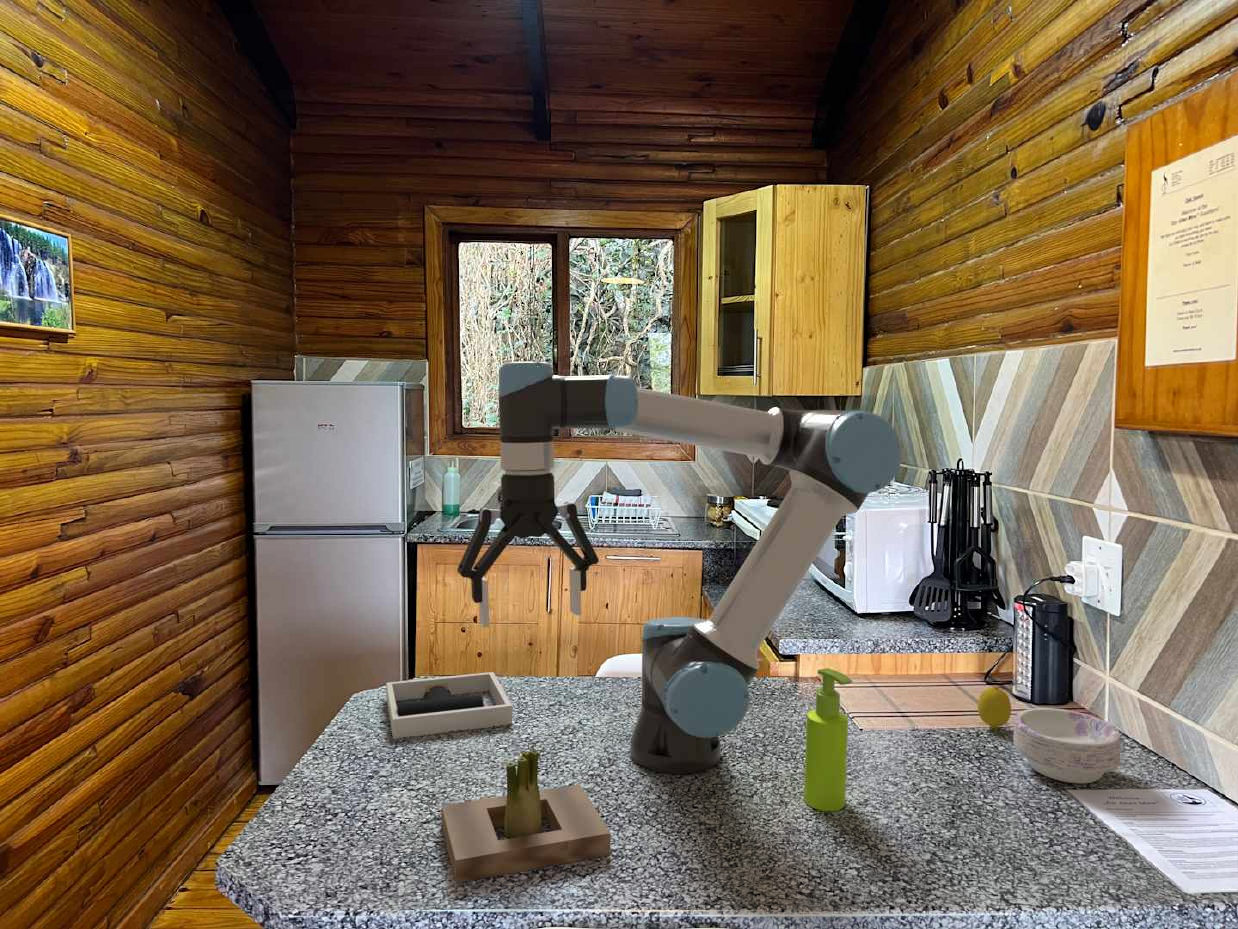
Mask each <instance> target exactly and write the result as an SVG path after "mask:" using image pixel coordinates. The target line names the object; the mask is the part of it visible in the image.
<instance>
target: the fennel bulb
mask: <svg viewBox="0 0 1238 929" xmlns="http://www.w3.org/2000/svg"><path fill="white" fill-rule="evenodd" d="M539 754H540V752H539V751H538V750H534V749H532V750H530V751H528V750H527V751H522V752H521V756H518V760H517V765H516V763H515V762H513V761H512V762H511V761H509V762H507V763H506V765H505V767H506V795H507V803H506V811H505V820H504V826H503V828H504V830H503V831H504V835H505V839H510V838H516V837H522V836H528V835H534V834H539V833H543V823H542V821H543V820H541V802H540V793H539V788H540V787H539V781H538V772H539V770H538V769H539V768H538V767H539V765H538V764H539Z"/></svg>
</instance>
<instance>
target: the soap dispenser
mask: <svg viewBox="0 0 1238 929" xmlns="http://www.w3.org/2000/svg"><path fill="white" fill-rule="evenodd" d="M817 675H820V676H822V688H820V689H818V690H816V694H815V708H814V709H811V710H809V711H808V712H807V713H806V728H805V729H806V734H805V735H806V736H805V761H804V762H805V763H804V764H805V765H804V793H803V794H804V795H803V796H804V797H803V799H804V802H805V804H806V805H807V806H809V807H811V808H813V809H816V810H819V811H824V812H837V811H840V810H842V809H843V808H844V807H845V804H846V802H845V801H846V782H847V781H846V780H847V779H846V776H847V758H848V756H847V755H848V729H849V718H848V716H847V715H846V714H845V713H843V712H841V711H840V708H841V707H840V702H841V701H840V700H841V694H840V692H838V691H837V690H835V682H837V683H838V684H839V685H840V686H843V685H848V684H852V683H853V680H852V679H851V678H850V677H848V676H847V675H845V674H844V673H842V672H840V671H837V670H836V669H835V670H834V669H831V668H828V667H827V668H821V669H817Z"/></svg>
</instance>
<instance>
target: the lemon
mask: <svg viewBox="0 0 1238 929" xmlns="http://www.w3.org/2000/svg"><path fill="white" fill-rule="evenodd" d="M977 712H978V716H979V718H980V719H981V721H983V722H984V723H985V725H988V726H989V727H990V728H991V729H993V730H995V729H997V728H999V727H1001V726H1004V725H1005V724H1007V723H1008V722H1009V720H1010V717H1011V714H1012V704H1011V700H1010V698H1009V695H1008V694H1007V693H1006V692H1005V691H1004V690H1003V689H1002V688H999V687H998V686H997V685H996V686H995V685H994V686H992V687H987V688H986V689H984V690H983V691H982V692H981V693H980V695H979V697H978V702H977Z"/></svg>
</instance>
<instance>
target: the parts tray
mask: <svg viewBox="0 0 1238 929" xmlns="http://www.w3.org/2000/svg"><path fill="white" fill-rule="evenodd" d="M435 684H447V685H448V689H449V690H450V692H451V695H452V696H455V695H463V694H464V695H466V694H472V693H481V692H489V694H490V695H491V697H492V699H493V702H494V703H495V705H489V706H484V707H478V708H470V709H461V710H452V711H444V712H435V713H426V714H417V715H409V716H400V717H398V712H397V702H398V701H407V700H409V699H410V700H417V699H423V695H424V693H425V691H426V686H427V685H435ZM385 685H386V704H387V710H388V717H389V722H390V729H391V734H392V740H397V739H404V738H403V737H406V738H411V737H410V736H414V737H421V736H428V735H429V734H430V735H437V734H436V733H438V734H443V733H442V732H446V733H450V732H449V731H454V732H458V731H457V730H462V731H468V729H469V731H470V730H477V729H485V728H494V727H493V726H495V727H501V726H500V725H503V726H508V725H507V724H511V725H513V704H512V702H511V701H510V699H509V698H508V695H507V694H506V692H505V690H504V688H503V687H502V685H501V683H500V681H499V680H498V678H497V676H496V674H495V672H494V671H491V672H481V673H478V672H477V673H469V674H461V675H460V674H459V675H450V676H440V677H431V678H419V679H410V680H399V681H390V682H389V681H388V682H386V684H385ZM410 700H409V701H410ZM430 735H429V736H430Z"/></svg>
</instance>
